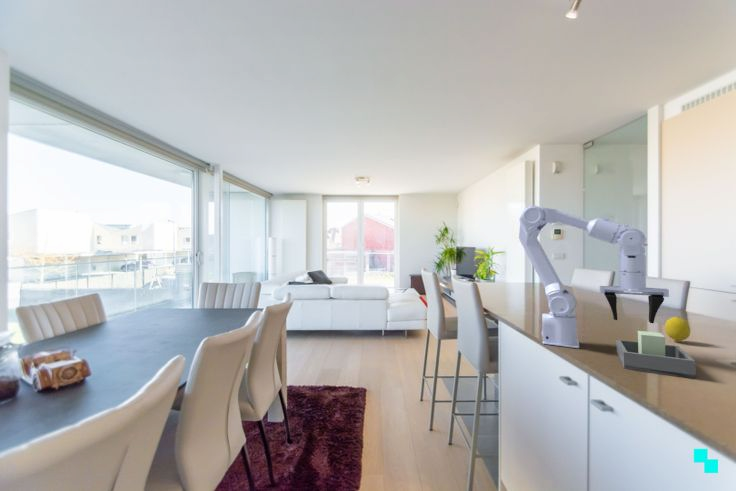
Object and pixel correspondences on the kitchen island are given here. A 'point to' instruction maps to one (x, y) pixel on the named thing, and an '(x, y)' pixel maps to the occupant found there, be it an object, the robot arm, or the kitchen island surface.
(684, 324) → the lemon
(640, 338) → the block
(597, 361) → the kitchen island surface
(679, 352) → the bin
